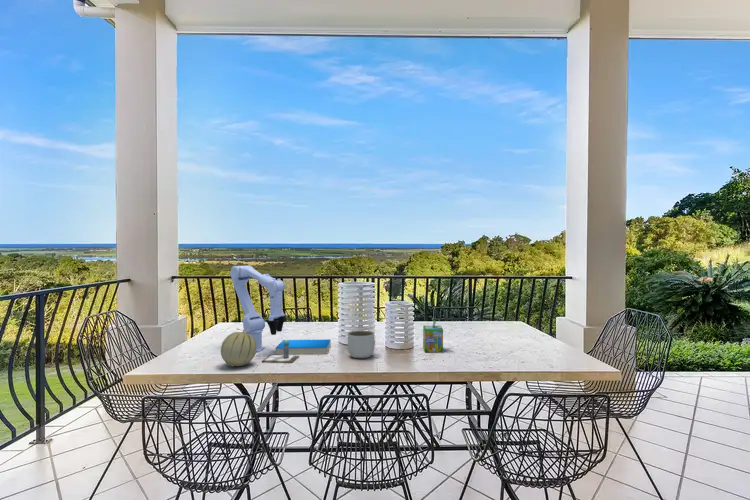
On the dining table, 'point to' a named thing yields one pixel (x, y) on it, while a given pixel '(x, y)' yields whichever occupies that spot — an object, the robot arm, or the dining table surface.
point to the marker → (285, 349)
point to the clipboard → (279, 359)
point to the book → (305, 347)
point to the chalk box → (433, 338)
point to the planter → (361, 344)
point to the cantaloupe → (238, 348)
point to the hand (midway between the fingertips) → (276, 333)
